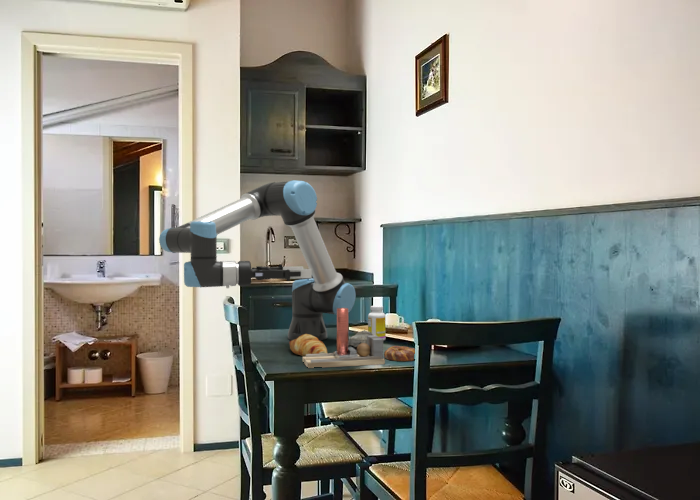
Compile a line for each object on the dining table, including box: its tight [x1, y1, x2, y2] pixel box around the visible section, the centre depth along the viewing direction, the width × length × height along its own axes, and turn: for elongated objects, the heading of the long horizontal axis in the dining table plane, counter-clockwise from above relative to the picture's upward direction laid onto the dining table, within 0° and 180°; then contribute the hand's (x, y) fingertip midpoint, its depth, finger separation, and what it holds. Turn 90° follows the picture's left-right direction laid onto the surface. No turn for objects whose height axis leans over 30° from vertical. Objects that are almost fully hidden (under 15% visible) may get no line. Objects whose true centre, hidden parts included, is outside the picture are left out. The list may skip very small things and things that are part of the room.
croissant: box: [288, 334, 328, 357], centre depth 201 cm, size 21×10×8 cm, turn 39°
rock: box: [348, 329, 373, 349], centre depth 208 cm, size 13×9×6 cm, turn 146°
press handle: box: [333, 308, 358, 358], centre depth 187 cm, size 7×6×15 cm
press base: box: [302, 335, 386, 369], centre depth 187 cm, size 10×24×8 cm, turn 104°
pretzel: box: [383, 345, 416, 362], centre depth 194 cm, size 12×11×4 cm
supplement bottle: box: [367, 305, 387, 341], centre depth 228 cm, size 7×7×13 cm
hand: (307, 272), depth 185 cm, fingers open, 13 cm apart
